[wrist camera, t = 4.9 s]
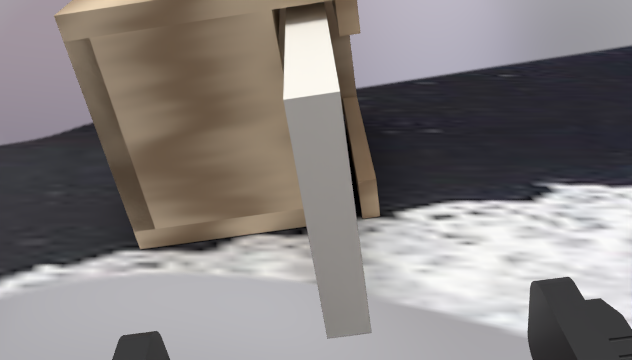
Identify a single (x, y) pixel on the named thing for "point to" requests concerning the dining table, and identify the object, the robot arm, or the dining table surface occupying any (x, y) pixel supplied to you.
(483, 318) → the dining table surface
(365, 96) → the dining table surface
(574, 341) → the robot arm
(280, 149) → the box
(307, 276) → the dining table surface
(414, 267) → the dining table surface
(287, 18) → the cover plate
